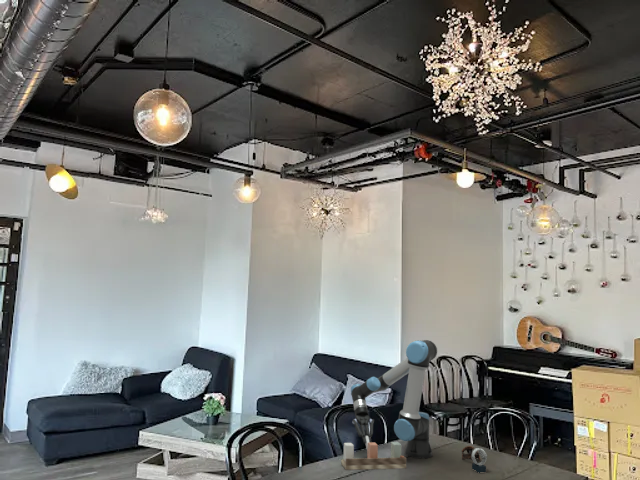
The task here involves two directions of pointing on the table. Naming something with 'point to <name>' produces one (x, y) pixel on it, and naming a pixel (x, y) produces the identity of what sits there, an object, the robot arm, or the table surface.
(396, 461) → the birch key console
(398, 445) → the pale green upright block
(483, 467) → the small desk fan
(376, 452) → the terracotta key
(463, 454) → the pottery mug
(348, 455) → the off-white key
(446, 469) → the table surface
